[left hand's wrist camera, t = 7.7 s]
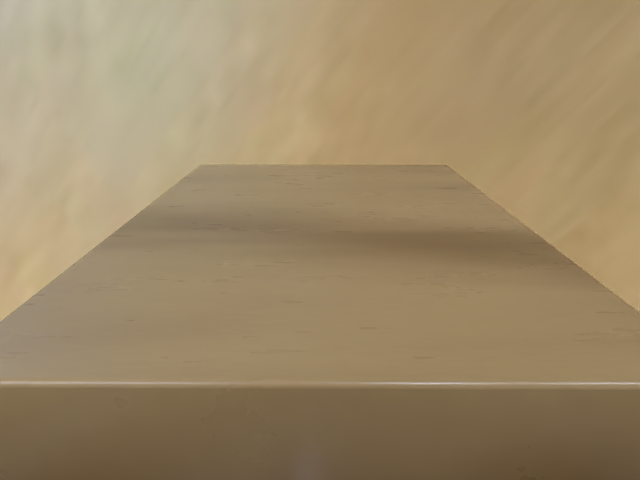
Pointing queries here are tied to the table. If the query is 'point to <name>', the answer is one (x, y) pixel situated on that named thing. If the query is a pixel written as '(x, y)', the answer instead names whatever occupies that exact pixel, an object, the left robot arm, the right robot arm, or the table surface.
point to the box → (321, 341)
